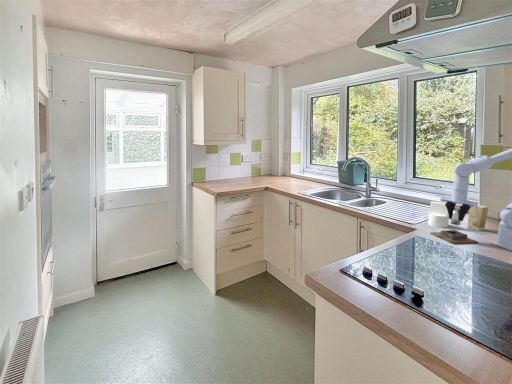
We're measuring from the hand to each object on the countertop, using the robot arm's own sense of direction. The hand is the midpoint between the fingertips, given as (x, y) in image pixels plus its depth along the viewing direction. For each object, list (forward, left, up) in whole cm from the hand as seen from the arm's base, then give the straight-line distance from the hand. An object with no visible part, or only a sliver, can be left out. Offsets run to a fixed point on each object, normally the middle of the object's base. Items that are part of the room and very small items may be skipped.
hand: (455, 219), depth 137 cm
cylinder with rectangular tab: (+21, -9, -9) cm, 25 cm away
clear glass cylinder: (0, 0, -2) cm, 2 cm away
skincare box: (+13, -24, -9) cm, 29 cm away
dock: (0, 0, -9) cm, 9 cm away
